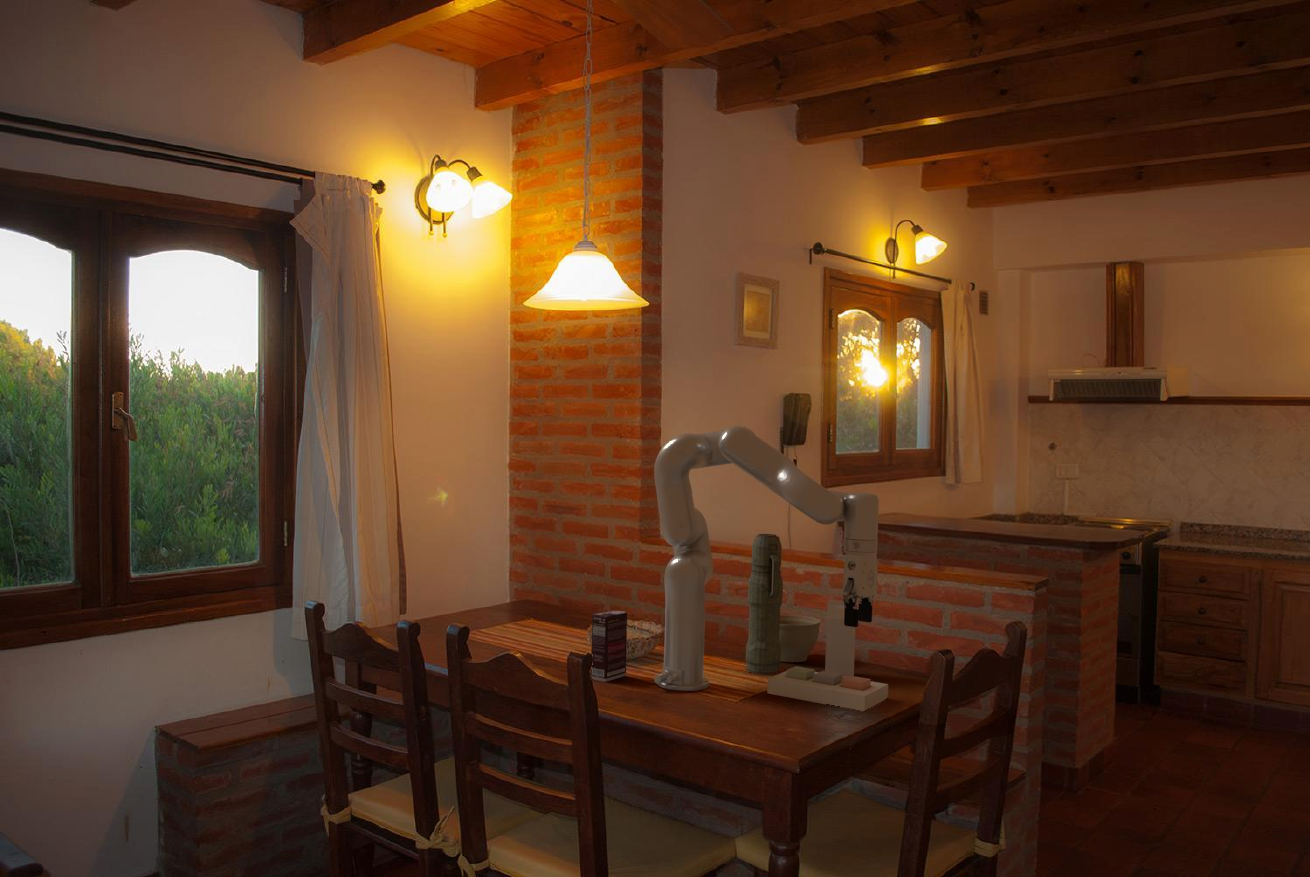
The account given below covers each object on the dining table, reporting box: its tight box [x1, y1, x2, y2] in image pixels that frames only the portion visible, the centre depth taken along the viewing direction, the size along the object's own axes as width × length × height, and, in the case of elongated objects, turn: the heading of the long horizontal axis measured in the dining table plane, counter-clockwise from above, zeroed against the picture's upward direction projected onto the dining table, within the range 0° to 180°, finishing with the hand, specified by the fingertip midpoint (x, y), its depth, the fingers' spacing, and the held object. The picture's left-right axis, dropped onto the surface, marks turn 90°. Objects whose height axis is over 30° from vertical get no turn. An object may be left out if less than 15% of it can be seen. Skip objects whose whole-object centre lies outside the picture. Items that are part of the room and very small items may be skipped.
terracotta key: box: [841, 675, 872, 691], centre depth 230 cm, size 5×5×2 cm
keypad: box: [766, 671, 889, 712], centre depth 234 cm, size 14×24×4 cm, turn 56°
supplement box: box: [590, 610, 628, 683], centre depth 245 cm, size 9×5×16 cm, turn 145°
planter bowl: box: [779, 614, 821, 663], centre depth 273 cm, size 16×16×11 cm
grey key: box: [813, 670, 842, 686], centre depth 234 cm, size 5×5×2 cm
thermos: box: [745, 533, 784, 676], centre depth 258 cm, size 9×12×35 cm
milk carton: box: [824, 599, 856, 677], centre depth 256 cm, size 7×7×19 cm
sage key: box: [785, 665, 816, 681], centre depth 238 cm, size 5×5×2 cm
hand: (858, 623), depth 230 cm, fingers open, 7 cm apart
